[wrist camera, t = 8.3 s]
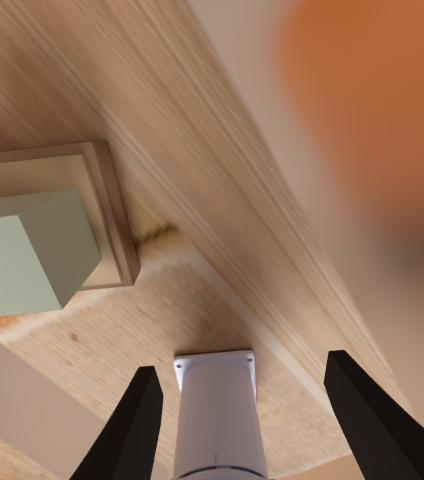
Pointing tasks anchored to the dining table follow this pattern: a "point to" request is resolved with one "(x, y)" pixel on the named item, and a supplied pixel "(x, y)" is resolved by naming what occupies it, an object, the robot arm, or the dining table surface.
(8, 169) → the plinth
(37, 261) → the sage block
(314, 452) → the dining table surface
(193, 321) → the dining table surface
